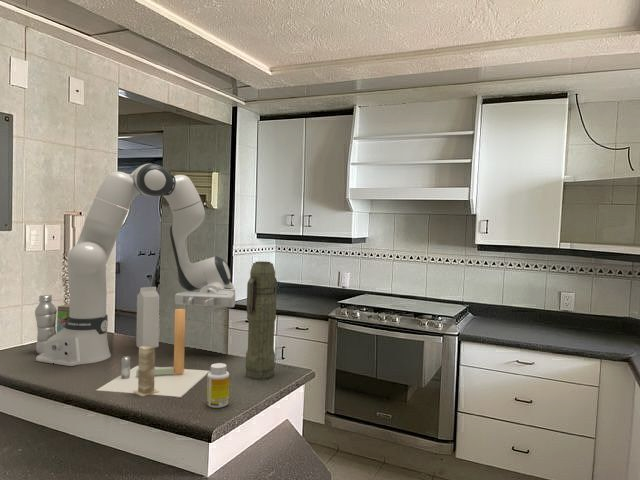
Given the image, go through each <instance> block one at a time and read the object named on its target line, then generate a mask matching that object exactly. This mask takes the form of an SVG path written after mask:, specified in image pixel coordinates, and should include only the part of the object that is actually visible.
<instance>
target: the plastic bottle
mask: <svg viewBox="0 0 640 480" xmlns="http://www.w3.org/2000/svg"><path fill="white" fill-rule="evenodd" d="M52 297H53V295H52V294H45V295H44V294H43V295H39V299H38V302H39V304H38V305H37V307H36V308H35V310H34V316H35V321H36V329H37V336H36V337H37V339H36V344H35V350H36V353H37V355H40V354H42V353H44V349H45V344H46V342H47V340H48V339H49V338H51V337H52V336H53V335H55V334H56V333H57V313H58V309H57V307H56V306H55V305H54V304H53V302H52V301H53V298H52Z"/></svg>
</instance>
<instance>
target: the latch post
mask: <svg viewBox="0 0 640 480" xmlns="http://www.w3.org/2000/svg"><path fill="white" fill-rule="evenodd" d="M155 364H156V348H155V347H153V346H150V345H147V346H142V347H138V366H139V371H138V390H135V391H133V393H132V394H134V395H135V394H136V395H138V396H139V397H141V398H145V397H148V396H152V395H151V394H155V393H158V392H160V391H158V390H156V389H154V378H155V367H156V365H155Z"/></svg>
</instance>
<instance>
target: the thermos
mask: <svg viewBox="0 0 640 480" xmlns="http://www.w3.org/2000/svg"><path fill="white" fill-rule="evenodd" d="M274 267H275V266H274V264H273V263H271V261H264V260H263V261H260V260H259V261H255V262H253V263H252V265H251V269H250V273H249V274H250V275H249V276H250V277H249V279H248V281H247V286H246V288H247V289H246V290H247V291H246V315H247V316H246V320H247V321H248V325H247V327H248V328H247V329H248V330H247V331H248V333H247V334H248V335H247V350H246V352H245V371H246V372H245V377H246V378H247V379H249V380H254V381H255V380H256V381H264V380H263V379H266V380H269V379H268V378H270V379H272V378H273V377H274V376H275V373H274V372H275V366H276V364H275V363H276V353H275V350H274V343H275V338H274V337H275V336H274V335H275V322H276V320H277V319H276V318H277V296H278V295H277V293H278V292H277V291H278V280H277V278H276V271H275V268H274ZM271 377H272V378H271Z"/></svg>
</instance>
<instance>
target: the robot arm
mask: <svg viewBox="0 0 640 480" xmlns="http://www.w3.org/2000/svg"><path fill="white" fill-rule="evenodd" d="M139 195H143V196H146V197H163V198H164V199H165V200H166V201H167V203H168V205H169V208H170V210H171V211H170V212H171V213H172V219H173V220H172V223H171V226H170V227H169V236H170V242H171V247H172V251H173V255H174V259H175V263H176V269H177V279H178V283H179V285H180V287H181V288H183V289H184V290H186V291H181V292H178V293H175V295H174V303H175V305H177V306H178V305H180V306H183V305H185V306H199V307H202V308H203V309H205V310H210V311H212V310H216V309H222V308H234V307H235V306H236V289H235V288H234V285H233V283H232V282H231V279H232V274H231V269H230V266H229V264H228V263H227V261H226V260H225V259H223V258H222V257H220V256H212V257H209V258H205V259H204V260H199V261H196V262H191V261H190V258H189V253H188V248H187V244H186V240H187V237H188V236H190V234H191V233H193V232H194V231H195V230H196V229H198V228H199V227H200V225H202V223H203V222H204V220H205V216H206V212H205V207H204V204H203V201H202V199H201V196H200V195H199V192H198V190H197V188H196V187H195V185H194V183H193V181H192V180H191V178H190V177H189V176H187V175H185V174H176V175H173V174H172V173H171V172H169V170H167V168H165V167H163V166H162V165H159V164H156V163H144V164H142V165H140V166H138V167H137V168H135V169H134V170H132V171H131V172H129V173H125V172H124V171H111V172H110V173H109V174H107V176H106V177H105V178H104V180H103V182H102V183H101V185H100V187H99V189H98V190H97V192H96V195H95V196H94V199H93V202H92V204H91V205H90V207H89V210H88V213H87V215H86V217H85V220H84V223H83V227H82V228H81V231H80V234H79V236H78V237H79V238H78V241H77V242H76V244H75V245H74V246H73V247H72V248H71V249H70V250H69V252H68V255H67V277H68V278H67V279H68V290H69V304H70V305H69V316H68V317H67V318H65V319H62V320H64V321H62V322H61V323H64V322H65V325H64V328H63V329H61V330H60V331H59V332H57V331H56V334H55V335H53V336H52V337H51V338H49V339H48V340H47V342H46V344H45V349H44V353H42V354H37V356H36V358H35V361H36V362H41V363H46V364H47V363H48V364H53V363H54V365H60V366H68V367H73V366H79V365H85V364H93V363H98V362H102V361H106V360H108V359H110V358H111V356H112V354H111V352H110V349H109V342H108V325H109V324H108V323H109V322H108V321H109V319H108V318H109V317H108V314H107V297H108V296H107V294H108V293H107V291H108V290H107V271H106V270H107V266H106V265H107V264H108V261H109V258H110V256H111V254H112V251H113V248H114V246H115V245H116V240H117V238H118V236H119V235H120V232H121V229H122V227H123V224H124V222H125V219H126V217H127V215H128V212H129V210H130V207H131V206H132V205H131V204H132V202H133V201H134V199H135V198H136V197H137V196H139ZM198 289H200V290H199V291H197V290H198Z"/></svg>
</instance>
